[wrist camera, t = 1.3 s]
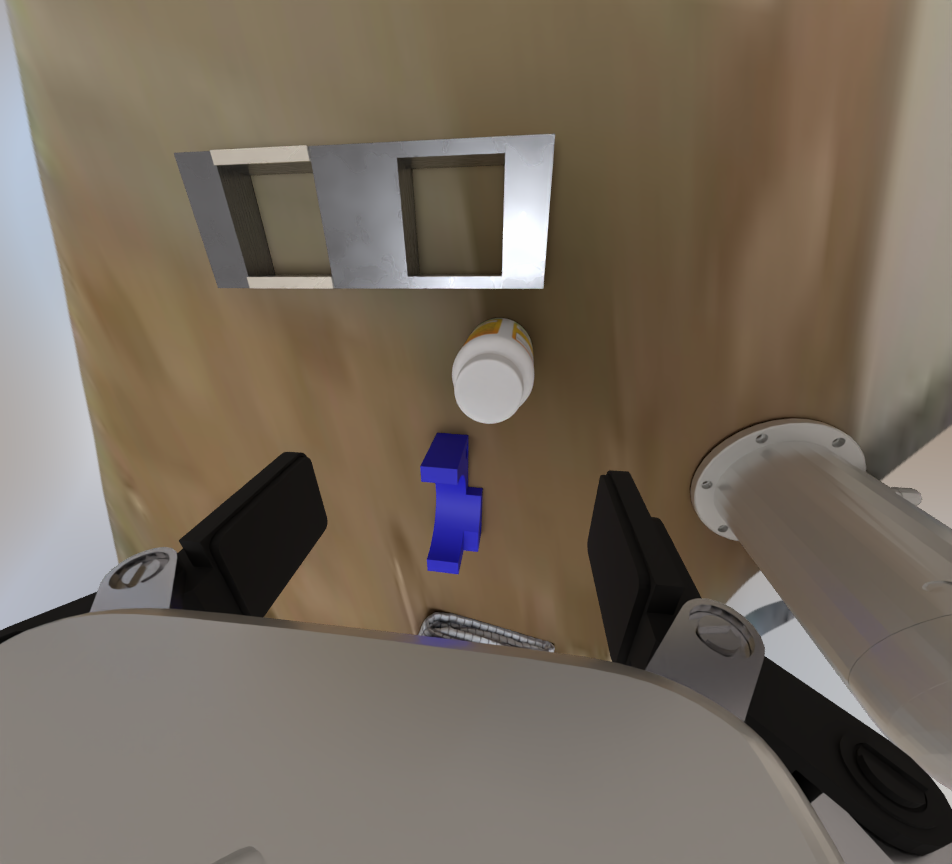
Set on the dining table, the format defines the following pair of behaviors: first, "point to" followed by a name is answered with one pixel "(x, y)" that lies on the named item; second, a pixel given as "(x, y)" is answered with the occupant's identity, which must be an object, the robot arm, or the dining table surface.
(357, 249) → the metal bottle holder tray
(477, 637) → the towel
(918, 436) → the dining table surface
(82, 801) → the robot arm
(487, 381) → the supplement bottle
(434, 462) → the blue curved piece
